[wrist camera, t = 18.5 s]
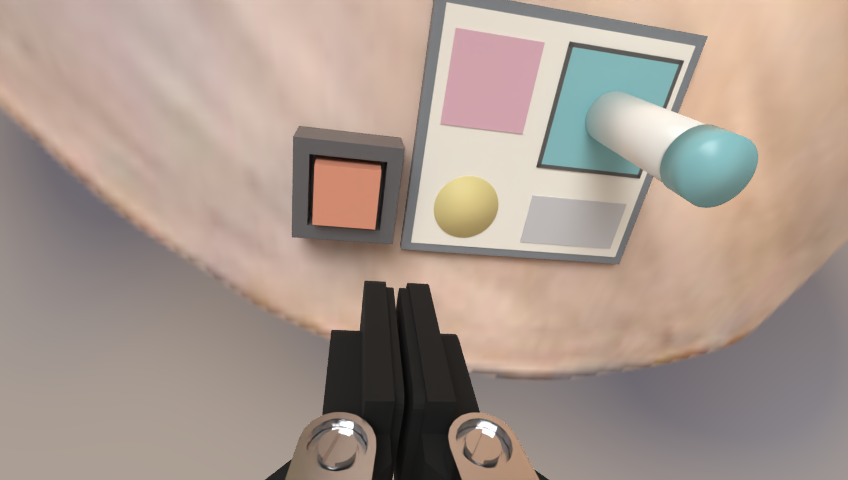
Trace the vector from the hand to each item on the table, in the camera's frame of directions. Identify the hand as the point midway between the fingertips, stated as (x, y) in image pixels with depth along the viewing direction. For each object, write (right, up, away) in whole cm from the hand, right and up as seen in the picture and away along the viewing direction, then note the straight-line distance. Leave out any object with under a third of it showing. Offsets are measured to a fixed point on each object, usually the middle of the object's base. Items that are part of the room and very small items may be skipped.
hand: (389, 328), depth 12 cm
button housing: (-5, +7, +20) cm, 22 cm away
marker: (+14, +11, +20) cm, 27 cm away
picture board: (+10, +9, +21) cm, 25 cm away
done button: (-4, +6, +19) cm, 21 cm away
